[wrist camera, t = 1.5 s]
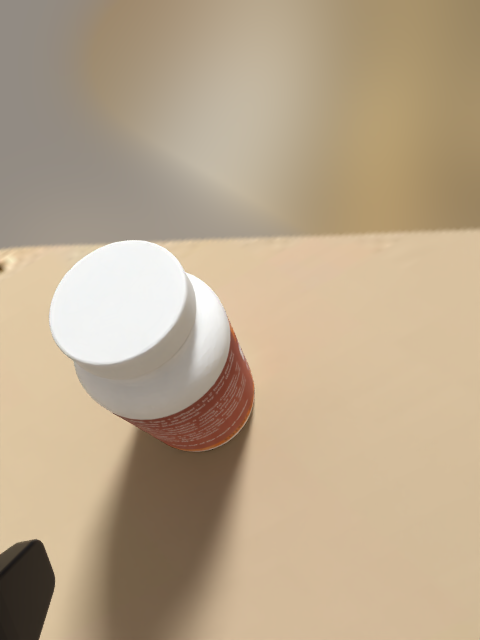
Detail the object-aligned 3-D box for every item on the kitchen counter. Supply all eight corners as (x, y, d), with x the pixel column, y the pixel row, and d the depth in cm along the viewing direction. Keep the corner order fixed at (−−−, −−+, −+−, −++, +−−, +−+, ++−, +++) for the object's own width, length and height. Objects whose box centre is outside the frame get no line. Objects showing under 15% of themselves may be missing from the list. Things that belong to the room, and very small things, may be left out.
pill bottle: (277, 375, 23) (249, 260, 13) (216, 477, 21) (130, 431, 11) (187, 327, 25) (107, 199, 15) (125, 416, 23) (-12, 333, 13)
